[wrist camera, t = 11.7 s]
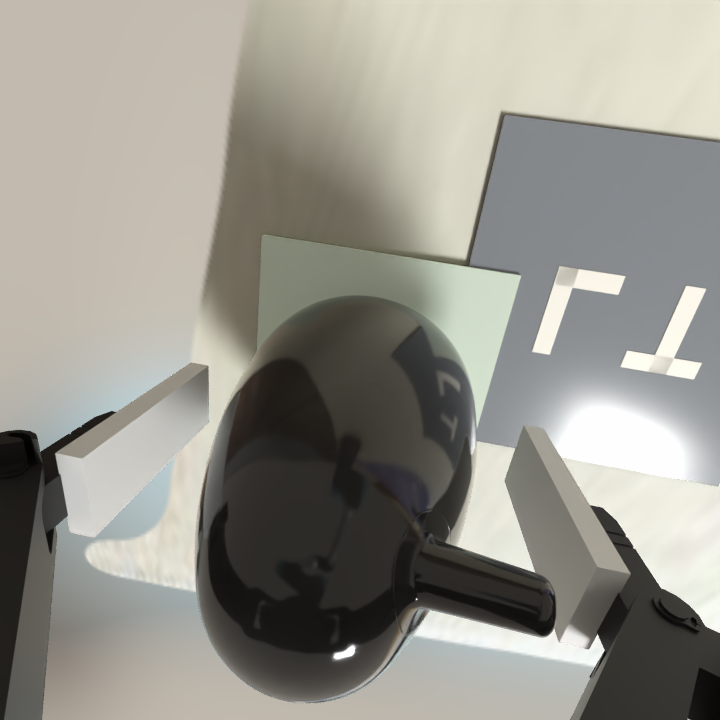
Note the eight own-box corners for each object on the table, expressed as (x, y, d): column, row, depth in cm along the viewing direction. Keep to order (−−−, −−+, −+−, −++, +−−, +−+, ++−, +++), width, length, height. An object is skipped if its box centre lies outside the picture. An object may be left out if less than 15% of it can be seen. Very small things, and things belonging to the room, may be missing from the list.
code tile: (504, 115, 17) (505, 114, 17) (900, 167, 16) (907, 166, 15) (429, 430, 23) (429, 432, 22) (714, 484, 21) (718, 486, 21)
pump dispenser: (476, 441, 22) (593, 845, 8) (305, 461, 24) (151, 813, 10) (451, 262, 19) (574, 396, 5) (256, 301, 21) (-77, 483, 7)
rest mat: (264, 234, 20) (261, 234, 20) (519, 274, 19) (521, 275, 19) (254, 446, 25) (251, 449, 24) (458, 486, 24) (458, 490, 23)
